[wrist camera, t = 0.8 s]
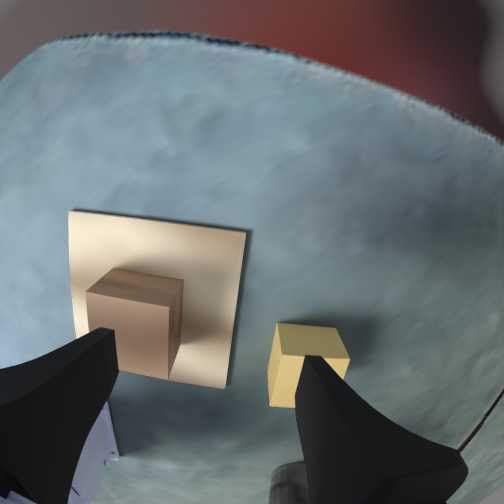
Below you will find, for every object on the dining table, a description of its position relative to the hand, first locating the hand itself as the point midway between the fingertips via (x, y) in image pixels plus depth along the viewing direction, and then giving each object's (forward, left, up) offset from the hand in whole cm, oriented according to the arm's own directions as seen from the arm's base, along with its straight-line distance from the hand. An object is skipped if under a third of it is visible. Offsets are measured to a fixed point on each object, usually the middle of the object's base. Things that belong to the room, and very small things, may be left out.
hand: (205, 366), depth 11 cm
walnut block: (-3, +5, -9) cm, 11 cm away
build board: (-3, +5, -10) cm, 11 cm away
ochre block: (-5, -6, -10) cm, 12 cm away
